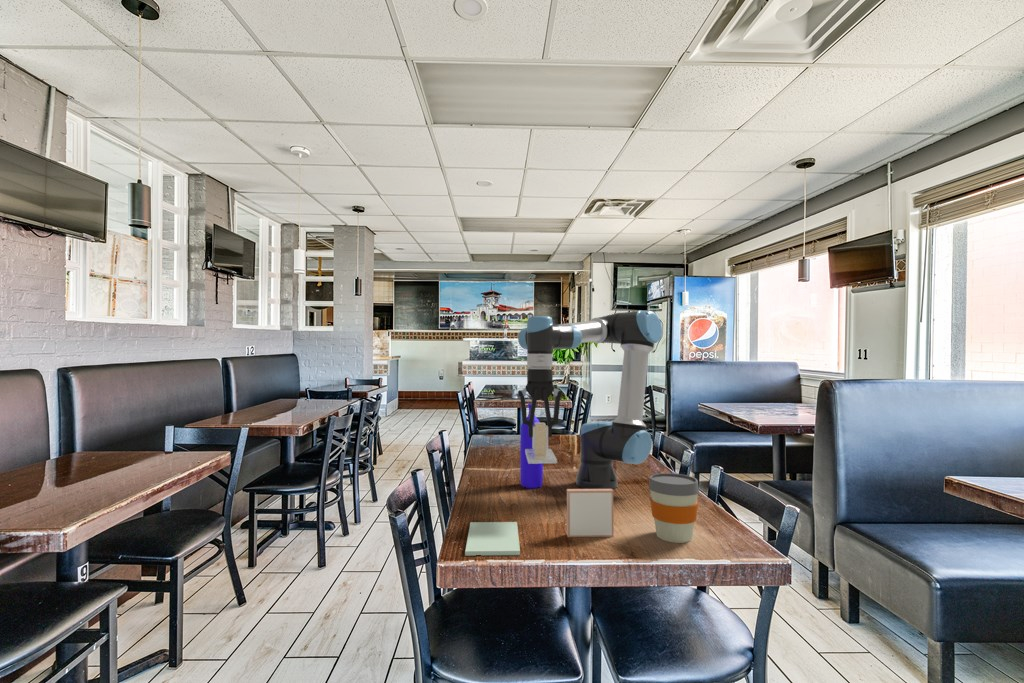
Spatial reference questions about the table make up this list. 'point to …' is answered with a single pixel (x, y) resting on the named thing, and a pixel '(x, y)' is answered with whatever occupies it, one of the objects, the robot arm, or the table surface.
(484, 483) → the table surface
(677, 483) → the reusable coffee cup
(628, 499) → the table surface
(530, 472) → the bottle
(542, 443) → the beige post on base
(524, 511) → the table surface
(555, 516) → the table surface
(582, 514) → the tile
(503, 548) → the rest mat
